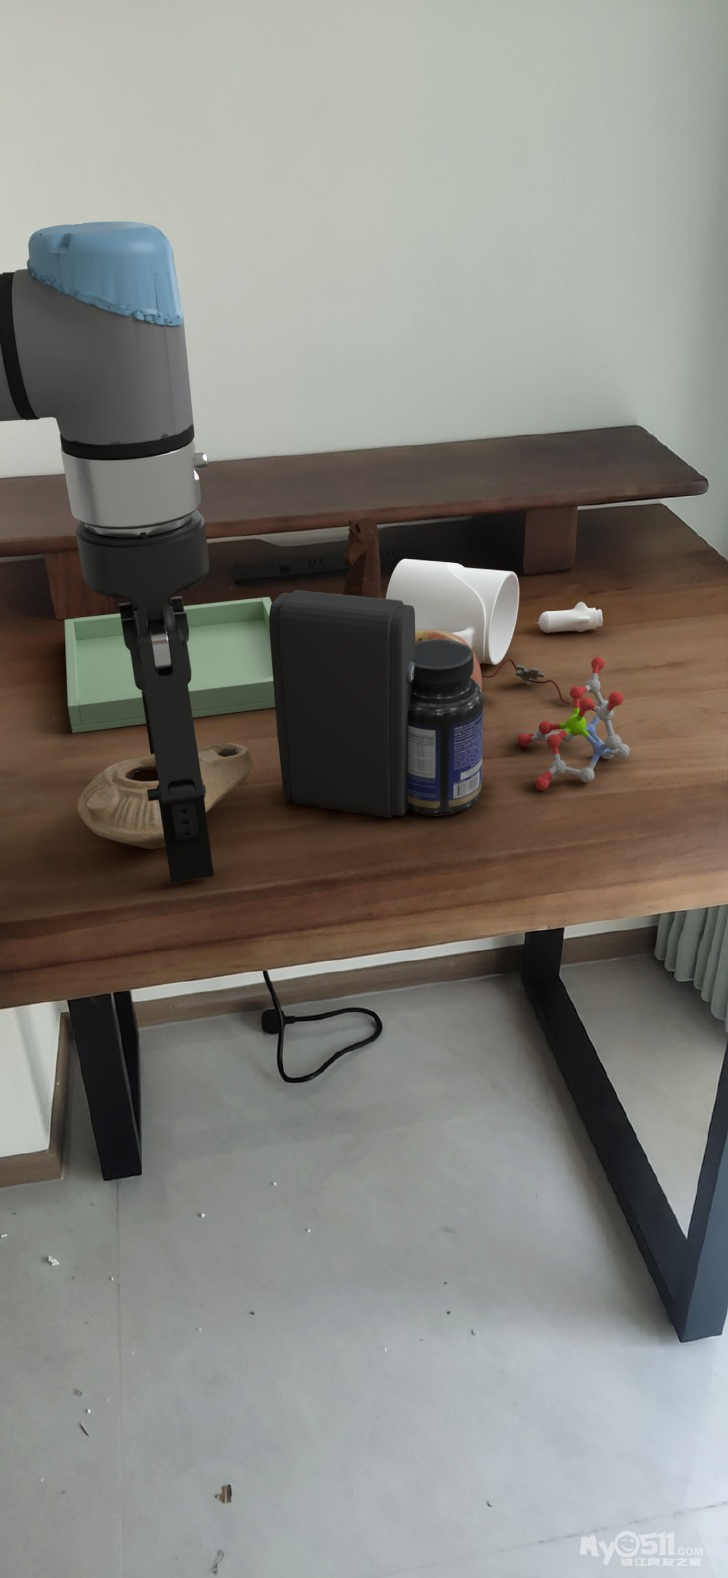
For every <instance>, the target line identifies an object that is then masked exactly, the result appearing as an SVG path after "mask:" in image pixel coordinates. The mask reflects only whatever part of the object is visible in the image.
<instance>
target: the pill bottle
mask: <svg viewBox="0 0 728 1578" xmlns="http://www.w3.org/2000/svg"><path fill="white" fill-rule="evenodd" d="M413 662H414V664H415V665H414V678H413V681H412V684H413V686H412V696H411V698H410V703H409V709H408V786H407V806H408V809H407V810H409V811H410V812H413V813H415V814H419V815H422V816H427V817H439V816H450V815H455V814H458V813H462V812H464V811H466V810H469V809H471V808H472V807H473V806H474V805H475V804H476V803H477V802H478V801H479V799H480V797H481V795H482V785H483V741H484V740H483V739H484V737H483V736H484V735H483V729H484V702H485V699H484V693H483V689H482V688H480V686H479V684H478V683H477V682H475V680H473V679H472V678H470V676H471V675H472V674H473V670H474V659H473V651H472V649H471V648H470V647H469V646H467V645H465V644H463V643H460V642H457V641H454V640H447V639H430V640H424V641H419V642H416V643H415V659H414V660H413Z"/></svg>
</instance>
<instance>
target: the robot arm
mask: <svg viewBox="0 0 728 1578" xmlns="http://www.w3.org/2000/svg"><path fill="white" fill-rule="evenodd" d="M27 249H28V259H27V260H26V268H22V269H16V270H15V271H6V272H2V273H0V422H12V421H13V422H15V421H37V420H40V419H46V418H47V419H48V418H53V419H55V421H56V424H57V428H58V431H59V439H60V454H61V459H62V465H63V470H64V476H65V481H66V488H67V489H66V490H67V494H68V499H69V505H70V510H71V514H72V516H73V517H74V518H75V519H76V521H79V524H78V526H77V527H76V529H75V534H76V535H75V536H76V541H77V542H76V543H77V548H78V553H79V559H80V560H79V561H80V566H81V571H82V576H83V581H84V583H85V585H86V586H87V587H88V588H89V589H90V590H91V591H93V592H95V593H97V594H99V595H101V596H104V597H108V598H112V599H117V598H120V599H124V600H126V601H127V600H128V601H129V602H124V603H118V609H119V613H120V616H121V623H122V629H123V636H124V642H125V646H126V647H127V648H128V650H129V651H130V654H131V660H132V667H133V673H134V680H135V685H136V687H137V688H138V689H140V690H142V691H141V692H142V699H143V706H144V712H145V719H146V724H145V725H146V726H145V727H146V731H147V739H148V745H149V753H150V755H151V754H154V755H155V762H156V768H157V775H158V781H159V784H158V786H157V788H155V789H148V790H147V794H148V801H154V800H159V806H160V813H161V820H162V826H163V833H164V840H165V846H166V847H165V852H166V859H167V866H168V872H169V878H170V879H169V880H170V884H175V883H180V882H187V881H194V880H199V879H204V878H205V879H206V878H212V877H214V876H215V873H214V866H213V856H212V849H211V842H210V833H209V826H208V818H207V812H206V809H205V801H204V797H205V793H206V788H205V785H203V780H202V777H201V770H200V764H199V757H198V750H197V748H198V743H197V737H196V730H195V723H194V718H193V716H192V710H191V703H190V696H189V689H188V683H189V682H190V681H191V672H192V671H191V665H190V658H189V652H188V646H187V642H188V640H189V625H188V619H187V614H186V612H184V606H185V605H184V600H183V596H175V595H177V594H178V593H180V592H182V591H184V590H189V589H192V588H193V587H195V586H197V585H198V584H200V583H201V582H203V580H204V579H205V578H206V577H207V576H208V573H209V570H210V557H209V548H208V539H207V529H206V521H205V520H206V519H205V517H204V515H202V514H201V513H200V512H199V510H197V509H198V508H200V506H201V503H202V491H201V484H200V477H199V474H198V473H197V472H196V470H203V469H206V468H207V467H208V466H209V457H208V455H207V454H206V451H203V450H198V451H196V441H195V426H194V414H193V403H192V393H191V384H190V383H191V382H190V372H189V371H190V370H189V361H188V350H187V340H186V339H187V338H186V330H185V321H184V310H183V309H182V302H181V297H180V291H179V283H178V278H177V277H178V276H177V271H176V265H175V257H174V251H173V246H172V244H171V242H170V240H169V239H168V237H167V236H166V234H164V232H163V231H162V230H161V229H160V228H158V227H156V226H155V225H153V224H149V223H145V222H141V221H122V220H120V221H119V220H118V221H117V220H116V221H92V222H83V223H75V224H60V225H54V226H53V225H52V226H48V227H44V228H39V229H38V230H36V231H34V232H33V233H32V234H31V236H30V237H29V240H28V244H27Z"/></svg>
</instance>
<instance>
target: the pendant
mask: <svg viewBox="0 0 728 1578" xmlns="http://www.w3.org/2000/svg"><path fill="white" fill-rule="evenodd" d="M507 662H511V664H512V666H513V667H514V670H515V676H516V677H518V678H519V677H520V679H522V681H524V682H525V684H526V685H530V683H536V684H547V683H552V684H553V685H554V686H555V688H556V690H557V692H558V695H559V698H560V700H561V702H562V703H563V704H566V705H571V702H570V701H565V700H564V699H563V697H562V693H561V689H560V687H559V686H558V685H557V683H556V682H555V681H554V680H552V679H548V680H545V681H539V680H538V681H537V679H538V678H540V679H541V678H545V675H546V673H544V672H542V671H539V668H538V667H532V666H531V667H530V669H528V668H525V667H526V665H522V664H517V665H516V663H515V662H514V660H513V659H511V658H507V659H505V660H504V661H503V662H502V664H501V665H500V666H499V667H498V668H497V669H496V671H495V672H494V673H493V674H492V675H481V677H482V678H487V679H490V678H493V677H494V676H496V675H497V674H498V673H499V671H500V670H501V669H502V667H503V666H504V665H505V664H506V663H507Z"/></svg>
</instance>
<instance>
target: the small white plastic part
mask: <svg viewBox="0 0 728 1578" xmlns="http://www.w3.org/2000/svg"><path fill="white" fill-rule="evenodd" d="M536 624H538V626H539V628H540V630H541V631H542V632H544V633H545V634H547V633H548V634H549V633H559V632H574V631H576V632H578V633H583V632H585V631H587V630H588V631H589V630H596V629H597V627H599V628H602V627H603V611H602V609H600V608H599V609H596V607H590V608H589V607H587V605H586V603H585V602H583V601H579V602H578V603H576V604H575V607H574V608H571V609H565V610H553V611H550V610H549V611H544V612H542V613H541V614H540V616H539V618H538V622H536Z"/></svg>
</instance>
